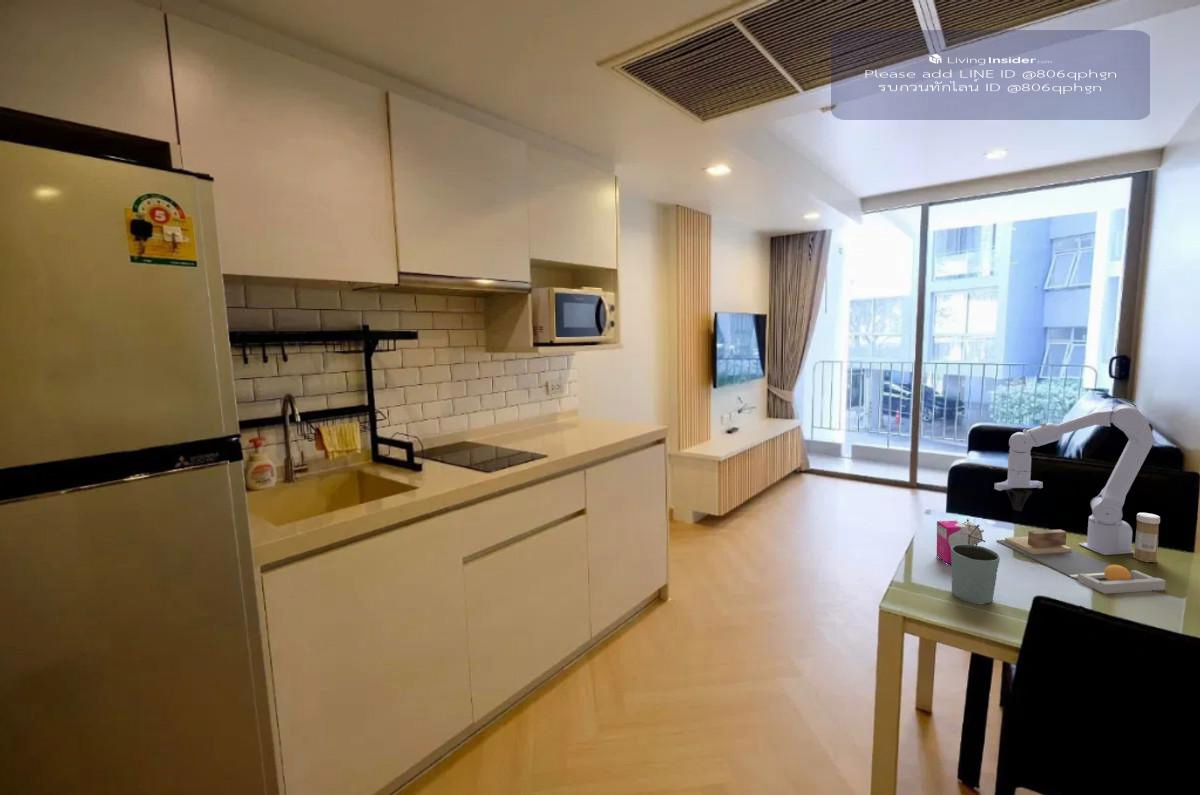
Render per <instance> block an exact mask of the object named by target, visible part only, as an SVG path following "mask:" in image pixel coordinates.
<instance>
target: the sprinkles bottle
mask: <svg viewBox="0 0 1200 795" xmlns="http://www.w3.org/2000/svg"><path fill="white" fill-rule="evenodd" d="M1160 523H1161V516H1159V515H1157V514H1154V513H1148V512H1138V513H1137V514H1136V532H1135V541H1134V542H1135V543H1134V547H1135V548H1134V555H1133V558H1134V559H1135V558H1136V560H1137V559H1138V561H1140V560H1141V561H1140V562H1143V561H1147V562H1146V563H1149V562H1154V563H1157V562H1156V561H1158V560H1157V555H1158V548H1159V547H1158V546H1159V527H1160V526H1159V525H1160Z"/></svg>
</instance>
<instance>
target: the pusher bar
mask: <svg viewBox="0 0 1200 795" xmlns="http://www.w3.org/2000/svg"><path fill="white" fill-rule="evenodd" d="M1027 532H1028V534H1027V536H1028V545H1030V546H1032V547H1046V546H1062V545H1065V546H1067V533H1068V532H1067V531H1065V530H1063V529H1060V528H1059V529H1046V530H1033V531H1031V530H1029V531H1027Z"/></svg>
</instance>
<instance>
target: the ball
mask: <svg viewBox="0 0 1200 795" xmlns="http://www.w3.org/2000/svg"><path fill="white" fill-rule="evenodd" d="M1109 565H1110V566H1108V567H1106V569H1105V570H1104V574H1105V577H1106V578H1107V579H1106V580H1108V581H1118V580H1132V578H1131V574H1130V570H1128V568H1126V567H1124V566H1123V565H1120V564H1109Z"/></svg>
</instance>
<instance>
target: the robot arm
mask: <svg viewBox="0 0 1200 795" xmlns="http://www.w3.org/2000/svg"><path fill="white" fill-rule="evenodd" d="M1111 423H1112V424H1113V425H1114V426H1115V427H1116V428H1118V429H1119V430H1120V431H1122V432H1123V434H1125V436H1126V437H1127V439H1128V441H1127V443H1126V445H1125V447H1124V448H1123V451H1122V452H1121V455H1120V456H1119V458H1118V461H1117V462H1116V464H1115V465H1114V468H1113V470H1112V472H1111V474H1110V476H1109V478H1108V480H1107V482H1106V484H1105V486H1104V487H1103V488H1102V489H1101V491H1100V493H1099V494H1098V495H1097V496H1095V497H1093V498H1092V499H1091V500H1090V508H1091V512H1092V514H1091V515H1089V516H1088V523H1087V525H1088V526H1087V538H1086V539H1087V541H1086V542H1078V545H1079V546H1081V547H1083V548H1086V549H1089V550H1091V551H1093V552H1096V553H1098V554H1101V555H1103V556H1108V555H1110V556H1111V555H1124V554H1125V555H1126V554H1135V550H1132V543H1133V528H1132V526H1131V525H1130V524H1129V523H1128V522H1127V521H1125V520H1122V518H1123V516H1124V515H1123V506H1124V505H1125V501H1126V496H1127V494H1128V493H1129V491H1130V489H1131V487H1132V485H1133V483H1134V481H1135V479H1136V477H1137V476H1138V473H1139V471H1140V470H1141V467H1142V465H1143V464H1144V462H1145V460H1146V458H1147V456H1148V454H1149V453H1150V450H1151V449H1152V447H1153V445H1154V443H1155V437H1154V435H1153V432H1152V429H1151V426H1150V424H1149V421H1148V419H1147V418H1146V417H1145V416H1144V415H1143V414H1142V413H1141V412H1140V411H1139V410H1138V409H1137V408H1136V407H1135V406H1133V405H1131V404H1129V403H1128V404H1127V403H1121V404H1120V403H1119V404H1116V405H1114V406H1113V407H1112V406H1108V407H1104V408H1100V409H1097V410H1094V411H1092V412H1088V413H1086V414H1083V415H1080V416H1077V417H1075V418H1072V419H1069V420H1066V421H1064V422H1061V423H1055V422H1048V423H1047V422H1040V425H1038V426H1035V427H1033V428H1029V429H1027V428H1025V429H1022V432H1021V431H1017V432H1015V433H1012V435H1011V436H1010V438H1009V440H1008V446H1009V450H1008V453H1009V454H1008V457H1007V458H1008V460H1007V461H1008V463H1007V479H1006V480H1004V481H1001V482H994V488H993V489H994V490H997V491H1000V492H1001V491H1003V490H1004V491H1005V492H1006V494H1007V496H1008V498H1009V501H1010V503H1011V506H1012V510H1014V511H1017V512H1023V509H1024V506H1025V503H1026V501H1027V500H1028V499H1029V498H1030V497H1031V495H1032V494H1033V490H1032V489H1033V488H1034V489H1035V488H1037V489H1042V488H1044V486H1043V485H1044V484H1043V481H1039V480H1031V475H1032V472H1031V471H1032V456H1031V450H1032V448H1033V447H1035V448H1036V447H1040V446H1044V445H1047V444H1050V443H1053V442H1057V441H1059V440H1062V438H1063V436H1064V435H1065V434H1068V433H1072V432H1075V431H1079V430H1083V429H1086V428H1089V427H1093V426H1103V427H1111Z"/></svg>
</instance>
